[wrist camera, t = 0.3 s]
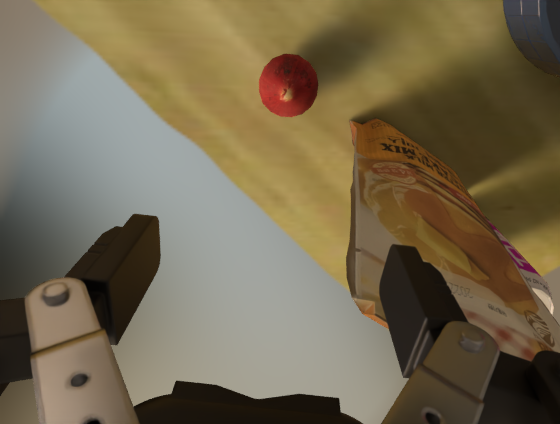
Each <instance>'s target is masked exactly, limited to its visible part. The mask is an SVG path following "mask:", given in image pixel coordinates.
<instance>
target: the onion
mask: <svg viewBox="0 0 560 424" xmlns="http://www.w3.org/2000/svg"><path fill="white" fill-rule="evenodd" d="M317 90H318V80H317V74H316V72H315V70H314V69H313V67H312V66H311V64H310V63H309V62H308V61H307V60H305V59H303V58H302V57H300V56H299V55H293V54H283V55H280V56H278V57H275V58H273V59H272V60H271V61H270V62H269V63H268V64H267V65H266V66H265V67H264V69H263V72H262V74H261V77H260V79H259V93H260V96H261V99H262V102H263V104H264V105H265V106H266V107H267V108H268V109H269V110H270V111H271V112H272V113H275V114H277V115H279V116H283V117H293V116H297V115H300V114H303V113H304V112H305V111H306V110H308V109H309V108H310V107H311V106H312V104H313V102H314V100H315V98H316V96H317Z"/></svg>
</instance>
